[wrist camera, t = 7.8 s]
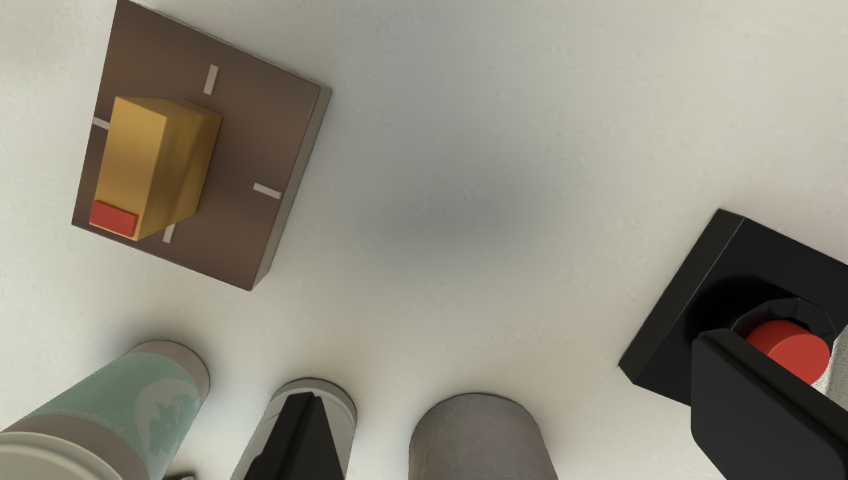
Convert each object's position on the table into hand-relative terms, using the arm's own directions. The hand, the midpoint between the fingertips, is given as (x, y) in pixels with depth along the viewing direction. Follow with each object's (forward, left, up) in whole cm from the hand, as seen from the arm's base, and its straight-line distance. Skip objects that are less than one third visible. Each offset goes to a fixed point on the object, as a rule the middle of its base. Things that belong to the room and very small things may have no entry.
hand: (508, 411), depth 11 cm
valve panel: (+1, -15, -17) cm, 22 cm away
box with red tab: (+1, -15, -13) cm, 20 cm away
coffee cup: (+17, -14, -17) cm, 28 cm away
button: (-2, +19, -13) cm, 23 cm away
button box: (-2, +19, -17) cm, 25 cm away
